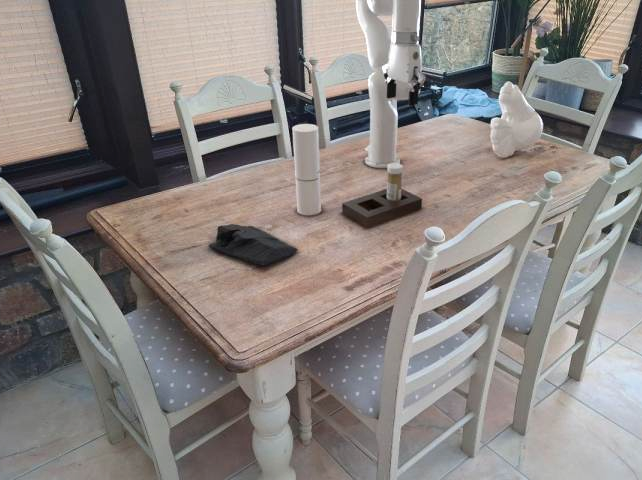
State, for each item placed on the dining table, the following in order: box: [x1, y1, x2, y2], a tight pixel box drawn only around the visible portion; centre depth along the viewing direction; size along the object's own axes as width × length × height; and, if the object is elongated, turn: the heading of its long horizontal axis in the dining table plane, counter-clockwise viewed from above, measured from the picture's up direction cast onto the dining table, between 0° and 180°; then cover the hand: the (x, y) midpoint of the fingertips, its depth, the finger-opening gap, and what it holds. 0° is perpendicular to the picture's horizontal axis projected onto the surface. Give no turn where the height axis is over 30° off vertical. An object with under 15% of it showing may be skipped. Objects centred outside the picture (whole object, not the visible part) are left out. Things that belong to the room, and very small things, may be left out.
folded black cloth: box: [208, 223, 299, 266], centre depth 141 cm, size 15×22×5 cm
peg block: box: [341, 188, 423, 229], centre depth 161 cm, size 12×21×4 cm, turn 127°
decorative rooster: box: [489, 80, 544, 159], centre depth 198 cm, size 25×16×25 cm
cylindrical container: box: [291, 123, 322, 216], centre depth 156 cm, size 7×7×25 cm
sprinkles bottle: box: [386, 163, 404, 203], centre depth 160 cm, size 5×5×13 cm
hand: (401, 101), depth 159 cm, fingers open, 9 cm apart
